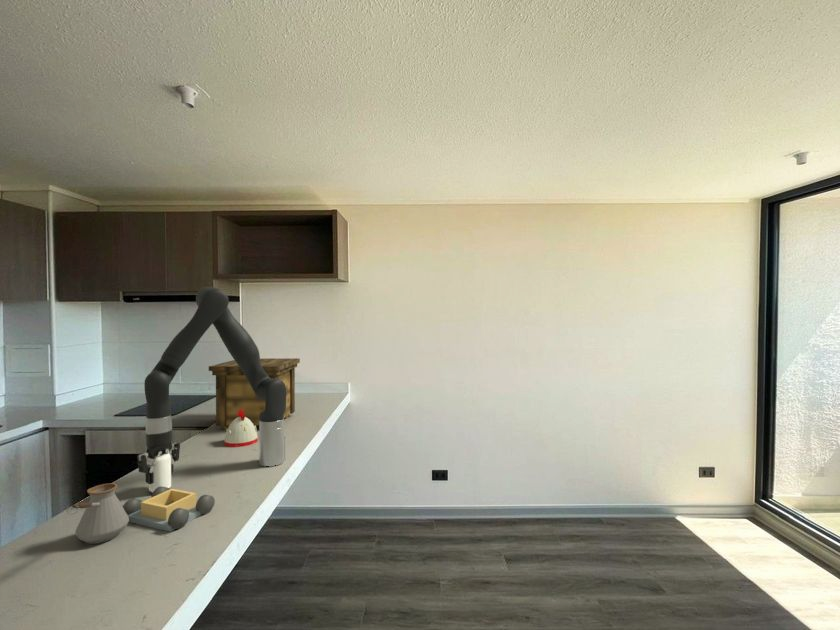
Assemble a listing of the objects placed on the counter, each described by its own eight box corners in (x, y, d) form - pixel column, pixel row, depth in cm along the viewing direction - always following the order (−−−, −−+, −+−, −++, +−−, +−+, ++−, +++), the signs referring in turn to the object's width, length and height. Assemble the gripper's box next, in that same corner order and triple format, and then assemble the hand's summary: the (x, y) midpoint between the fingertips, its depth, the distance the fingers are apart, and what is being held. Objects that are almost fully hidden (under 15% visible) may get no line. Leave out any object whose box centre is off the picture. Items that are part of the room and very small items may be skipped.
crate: (209, 431, 210) (208, 366, 210) (240, 414, 245) (240, 358, 245) (278, 431, 209) (278, 366, 209) (300, 414, 244) (299, 358, 244)
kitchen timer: (229, 449, 183) (229, 414, 183) (221, 441, 194) (220, 409, 193) (261, 442, 192) (261, 410, 192) (251, 436, 202) (251, 404, 202)
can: (151, 486, 142) (150, 451, 142) (173, 483, 145) (172, 448, 145) (146, 494, 136) (145, 457, 136) (169, 491, 139) (168, 455, 138)
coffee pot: (88, 528, 116) (87, 474, 116) (135, 522, 119) (135, 469, 119) (42, 574, 96) (41, 509, 96) (101, 566, 99) (100, 502, 99)
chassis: (166, 499, 134) (165, 483, 134) (214, 509, 127) (214, 492, 127) (121, 520, 121) (121, 502, 121) (173, 532, 114) (173, 514, 114)
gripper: (170, 423, 148) (171, 470, 149) (129, 434, 135) (130, 486, 135) (186, 425, 146) (186, 472, 146) (146, 437, 132) (147, 489, 133)
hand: (159, 479), depth 141 cm, fingers closed on can, 6 cm apart
